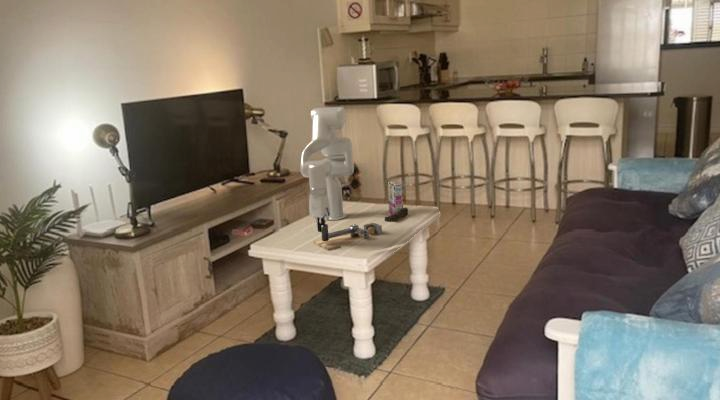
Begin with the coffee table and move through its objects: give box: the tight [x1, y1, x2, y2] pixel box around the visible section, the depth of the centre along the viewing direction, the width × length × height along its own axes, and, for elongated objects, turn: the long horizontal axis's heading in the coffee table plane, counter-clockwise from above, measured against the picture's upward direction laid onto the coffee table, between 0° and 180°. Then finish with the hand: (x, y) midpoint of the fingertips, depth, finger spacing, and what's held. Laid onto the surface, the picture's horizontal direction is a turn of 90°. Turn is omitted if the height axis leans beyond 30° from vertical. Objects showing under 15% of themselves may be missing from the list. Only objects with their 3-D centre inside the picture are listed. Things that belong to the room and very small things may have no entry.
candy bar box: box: [387, 181, 404, 215], centre depth 309 cm, size 11×5×16 cm, turn 14°
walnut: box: [367, 227, 375, 235], centre depth 272 cm, size 4×4×4 cm
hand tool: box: [384, 207, 409, 223], centre depth 300 cm, size 19×4×5 cm, turn 141°
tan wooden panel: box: [313, 222, 384, 251], centre depth 270 cm, size 13×30×5 cm, turn 122°
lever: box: [320, 223, 369, 241], centre depth 264 cm, size 10×20×8 cm, turn 126°
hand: (321, 231), depth 265 cm, fingers closed
